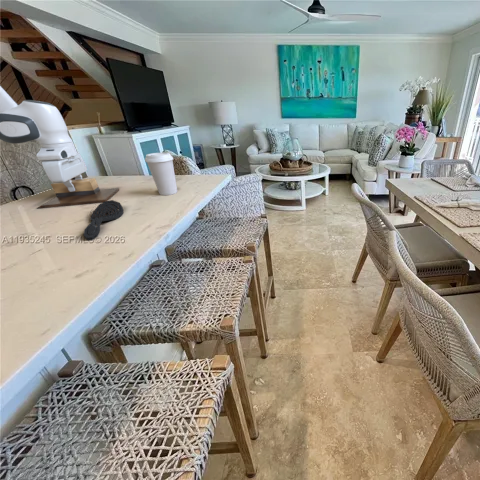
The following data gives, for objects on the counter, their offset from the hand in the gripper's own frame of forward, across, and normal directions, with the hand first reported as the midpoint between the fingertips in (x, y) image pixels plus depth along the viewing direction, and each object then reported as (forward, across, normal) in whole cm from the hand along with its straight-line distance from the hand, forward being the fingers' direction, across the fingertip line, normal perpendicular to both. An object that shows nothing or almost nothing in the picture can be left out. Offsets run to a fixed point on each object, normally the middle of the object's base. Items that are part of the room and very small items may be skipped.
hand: (77, 188), depth 101 cm
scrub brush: (+2, 0, 0) cm, 2 cm away
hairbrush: (+3, +34, +18) cm, 38 cm away
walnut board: (+3, +4, +2) cm, 5 cm away
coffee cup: (+3, +6, +32) cm, 33 cm away
